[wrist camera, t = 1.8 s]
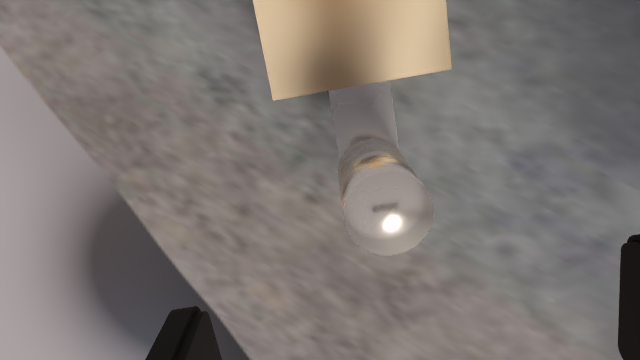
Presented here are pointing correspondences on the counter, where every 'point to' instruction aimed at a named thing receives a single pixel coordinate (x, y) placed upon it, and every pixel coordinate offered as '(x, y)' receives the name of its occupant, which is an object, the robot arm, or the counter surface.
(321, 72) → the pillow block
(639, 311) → the robot arm
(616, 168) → the counter surface
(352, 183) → the shaft
